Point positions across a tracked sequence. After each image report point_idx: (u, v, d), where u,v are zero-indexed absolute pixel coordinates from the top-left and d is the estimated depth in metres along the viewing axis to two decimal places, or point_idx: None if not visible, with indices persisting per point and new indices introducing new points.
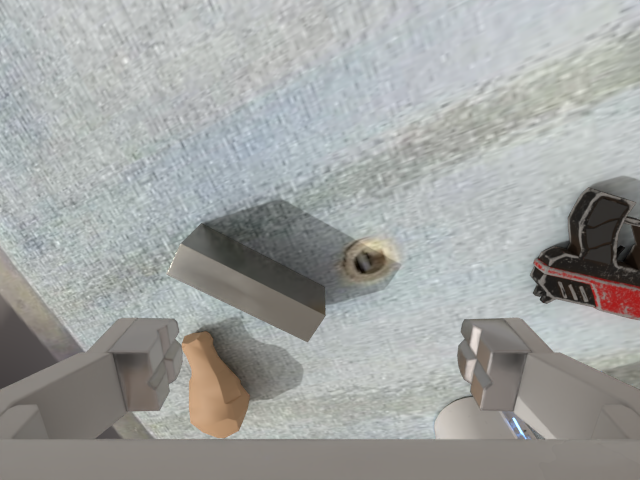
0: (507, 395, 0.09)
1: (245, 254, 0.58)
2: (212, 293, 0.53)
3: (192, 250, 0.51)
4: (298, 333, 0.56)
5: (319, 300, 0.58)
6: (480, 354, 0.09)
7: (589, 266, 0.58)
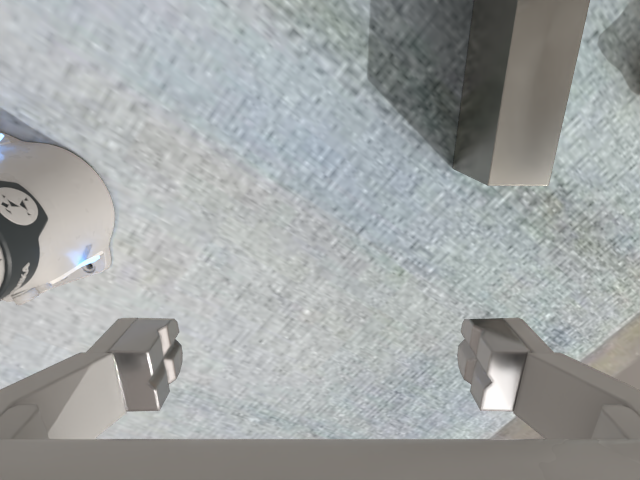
0: (507, 395, 0.09)
1: (474, 84, 0.36)
2: (561, 101, 0.30)
3: (492, 165, 0.32)
4: None
5: None
6: (480, 354, 0.09)
7: None
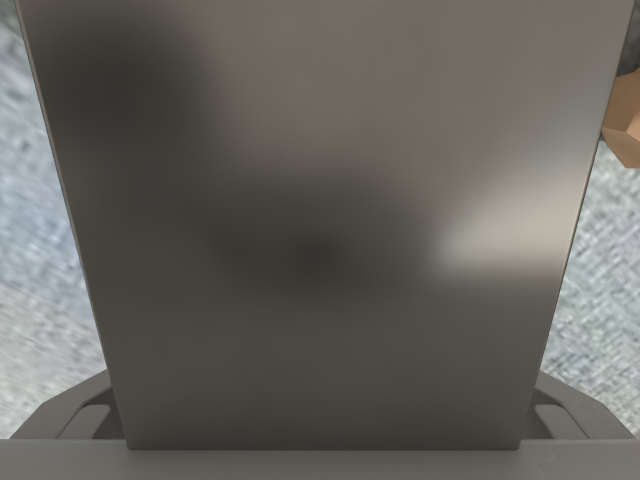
0: None
1: None
2: (512, 316, 0.04)
3: None
4: None
5: None
6: None
7: None
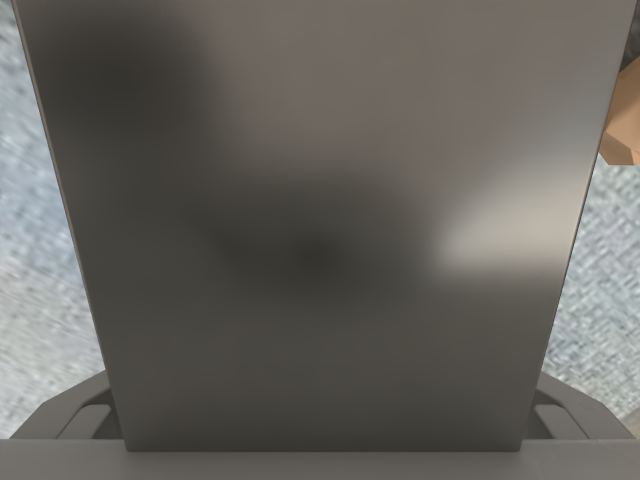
0: None
1: None
2: (514, 316, 0.04)
3: None
4: None
5: None
6: None
7: None
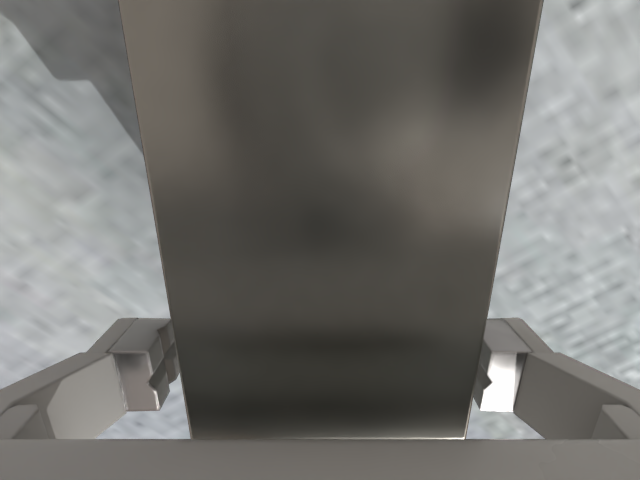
0: (507, 395, 0.09)
1: None
2: (463, 290, 0.06)
3: None
4: None
5: None
6: None
7: None
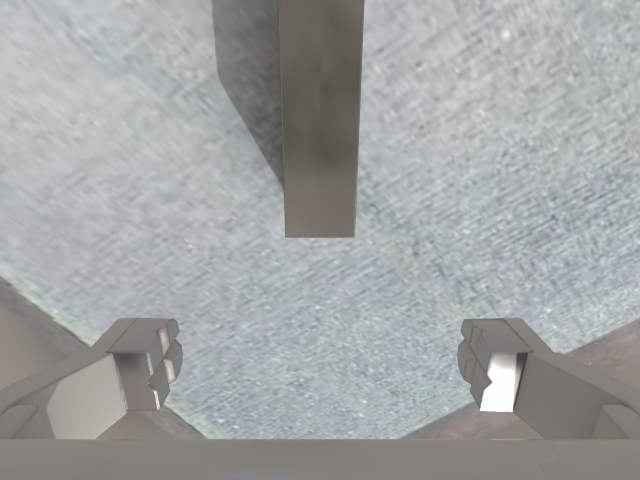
0: (507, 395, 0.09)
1: None
2: (351, 146, 0.26)
3: (287, 215, 0.28)
4: None
5: None
6: (480, 354, 0.09)
7: None
